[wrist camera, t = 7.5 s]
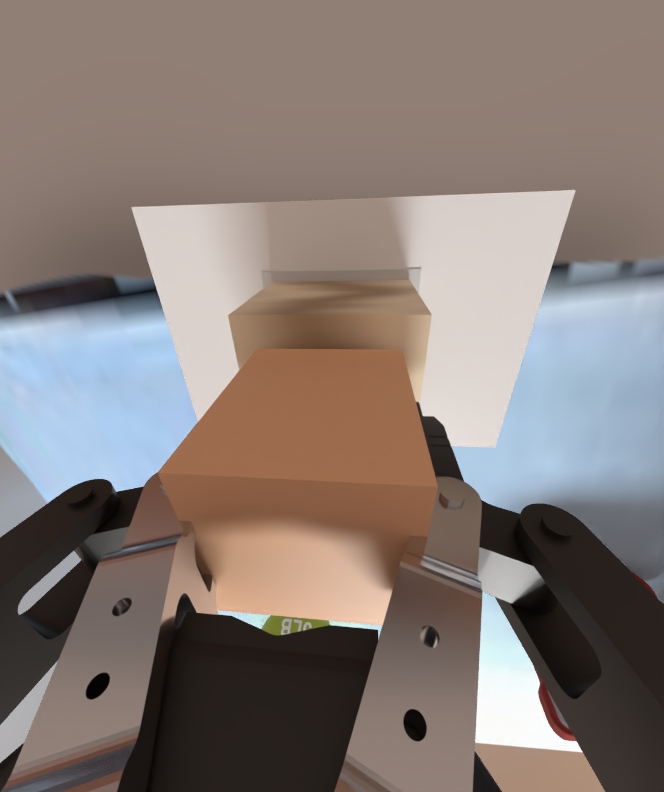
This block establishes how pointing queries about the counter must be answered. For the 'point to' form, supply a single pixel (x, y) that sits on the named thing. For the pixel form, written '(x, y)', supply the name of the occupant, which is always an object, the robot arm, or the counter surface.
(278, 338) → the maple base block
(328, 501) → the terracotta block
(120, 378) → the counter surface
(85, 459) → the counter surface
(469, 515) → the robot arm
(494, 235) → the board
